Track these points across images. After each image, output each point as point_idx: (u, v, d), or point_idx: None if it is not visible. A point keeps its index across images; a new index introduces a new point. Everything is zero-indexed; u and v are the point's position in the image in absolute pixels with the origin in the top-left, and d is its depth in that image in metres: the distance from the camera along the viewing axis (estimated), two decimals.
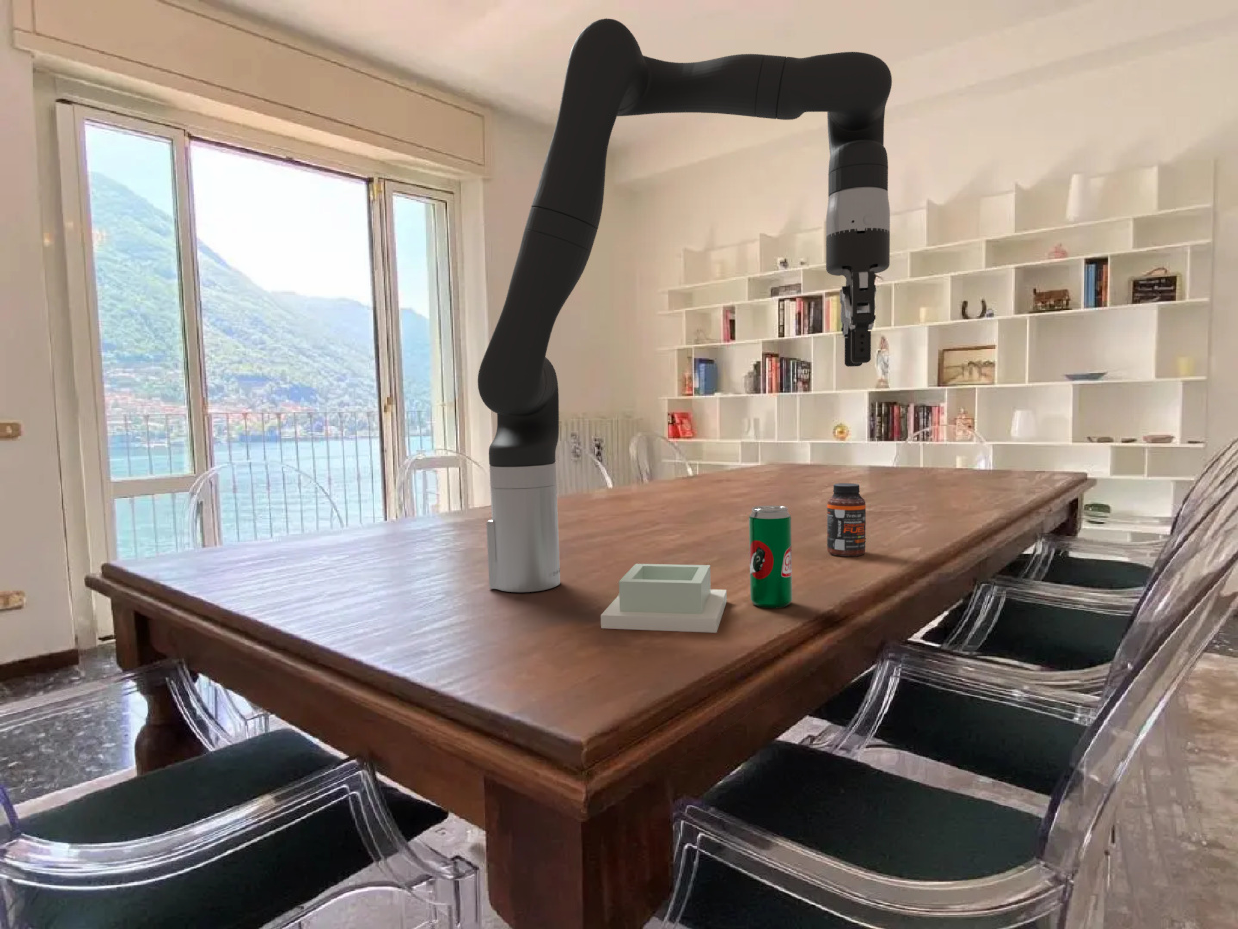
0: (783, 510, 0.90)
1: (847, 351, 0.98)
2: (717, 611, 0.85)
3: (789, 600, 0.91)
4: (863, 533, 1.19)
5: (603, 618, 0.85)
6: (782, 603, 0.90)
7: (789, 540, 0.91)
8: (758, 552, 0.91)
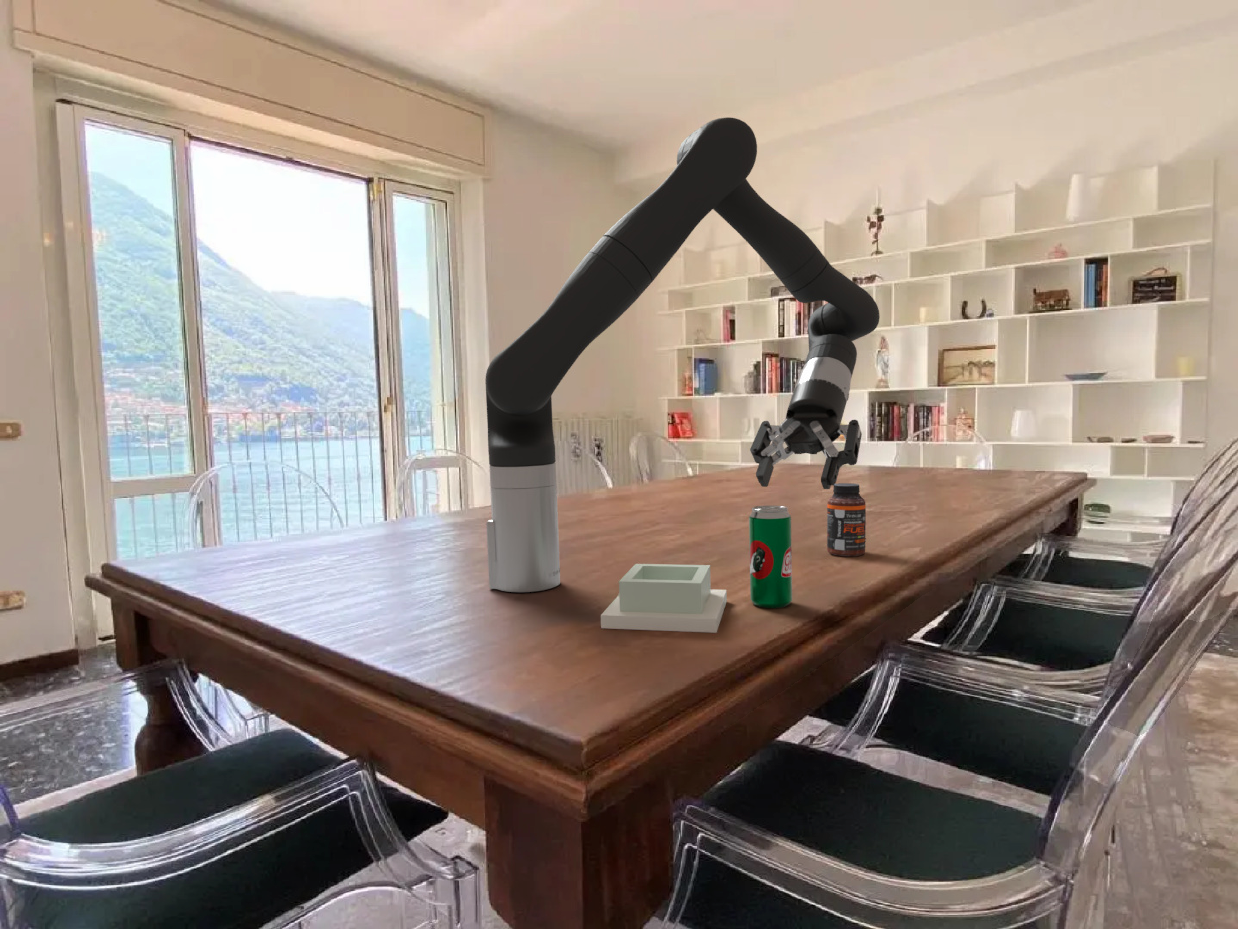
0: (783, 510, 0.90)
1: (766, 468, 1.02)
2: (717, 611, 0.85)
3: (789, 600, 0.91)
4: (863, 533, 1.19)
5: (603, 618, 0.85)
6: (782, 603, 0.90)
7: (789, 540, 0.91)
8: (758, 552, 0.91)
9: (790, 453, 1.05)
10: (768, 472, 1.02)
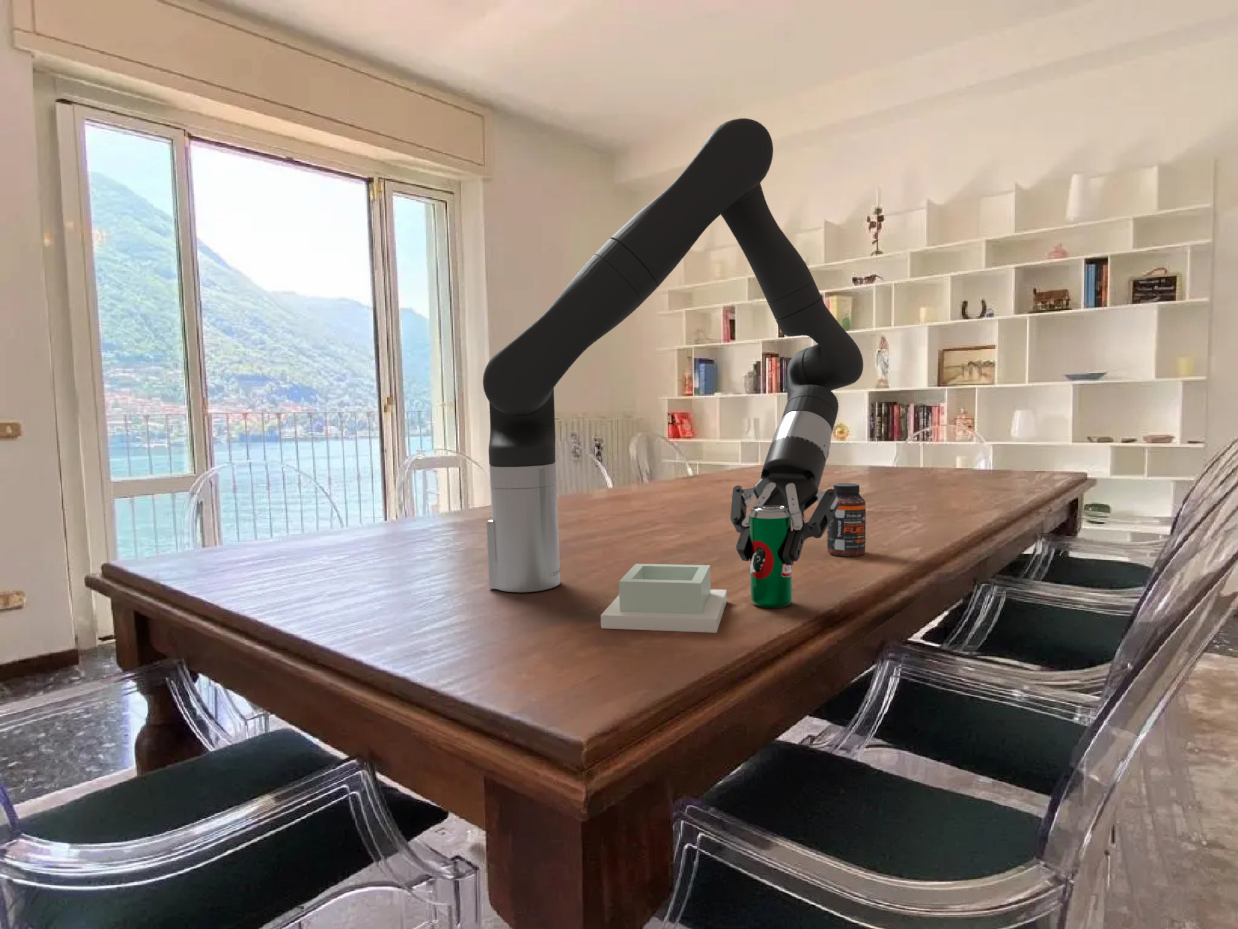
0: (783, 510, 0.90)
1: (748, 540, 0.93)
2: (717, 611, 0.85)
3: (789, 600, 0.91)
4: (863, 533, 1.19)
5: (603, 618, 0.85)
6: (782, 603, 0.90)
7: None
8: (758, 551, 0.91)
9: None
10: (749, 545, 0.93)
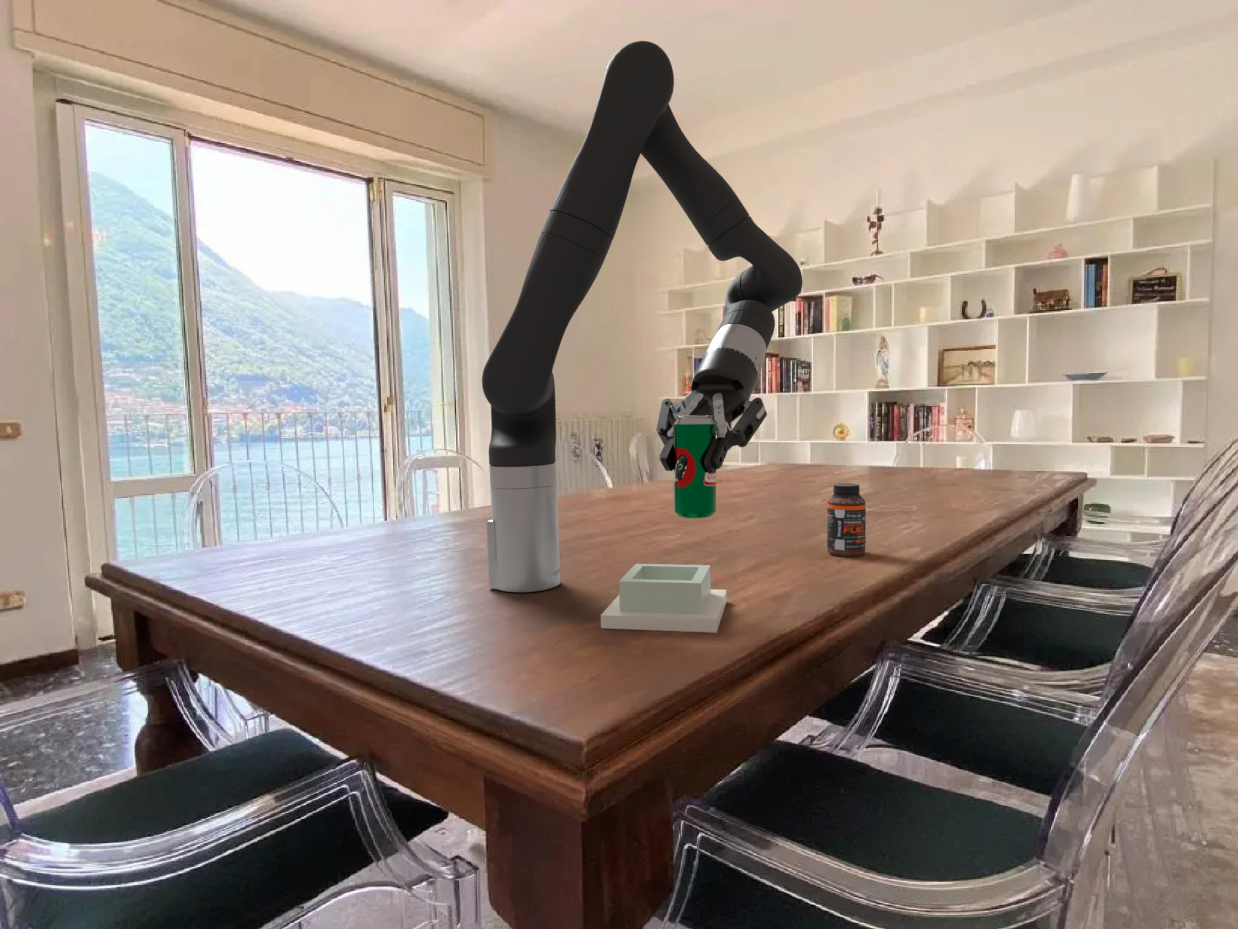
0: (707, 416, 0.87)
1: (671, 449, 0.90)
2: (717, 611, 0.85)
3: (712, 510, 0.88)
4: (863, 533, 1.19)
5: (603, 618, 0.85)
6: (704, 512, 0.88)
7: None
8: (680, 459, 0.88)
9: None
10: None
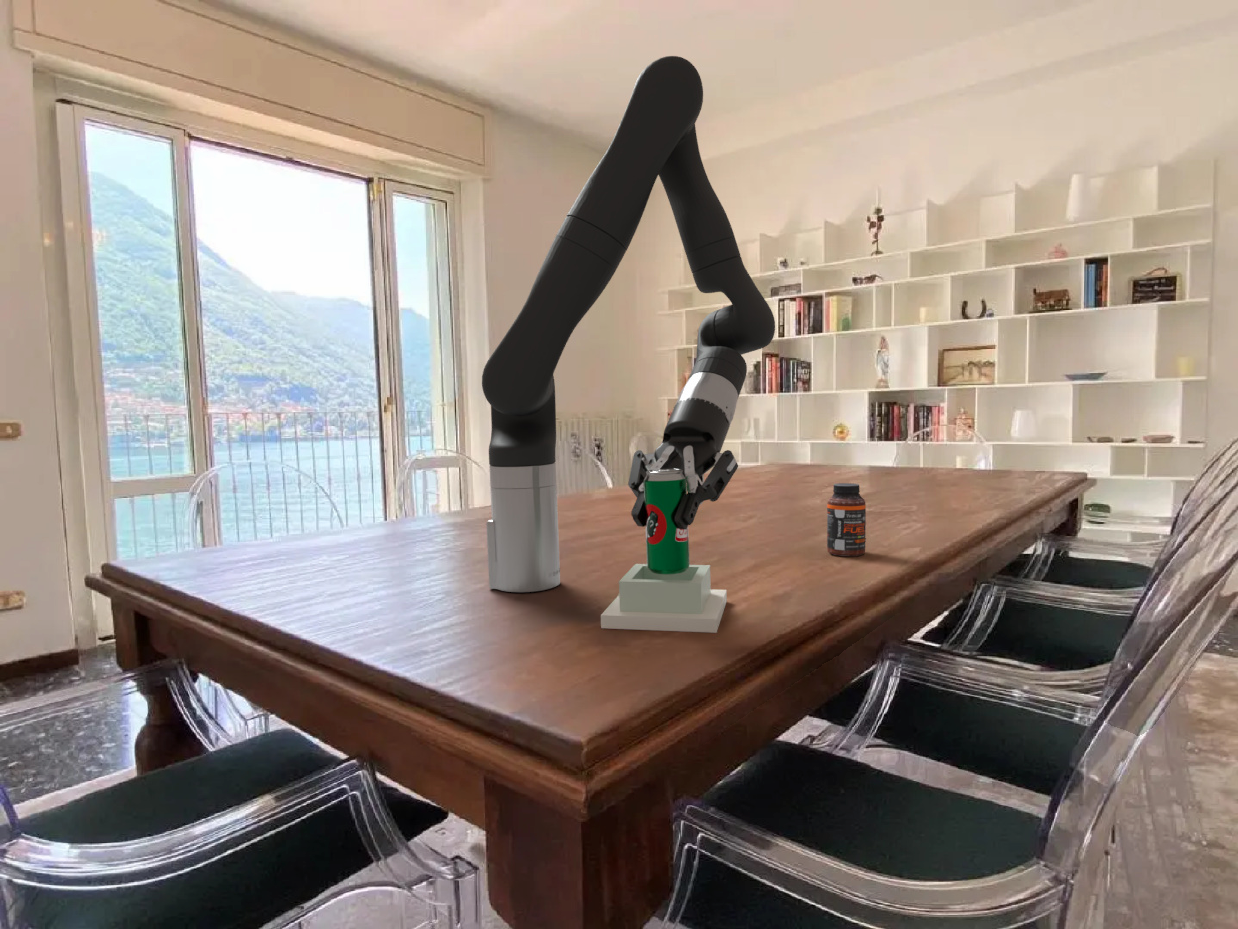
0: (676, 472, 0.87)
1: (643, 505, 0.89)
2: (717, 611, 0.85)
3: (685, 566, 0.88)
4: (863, 533, 1.19)
5: (603, 618, 0.85)
6: (677, 569, 0.87)
7: None
8: (651, 516, 0.87)
9: None
10: None
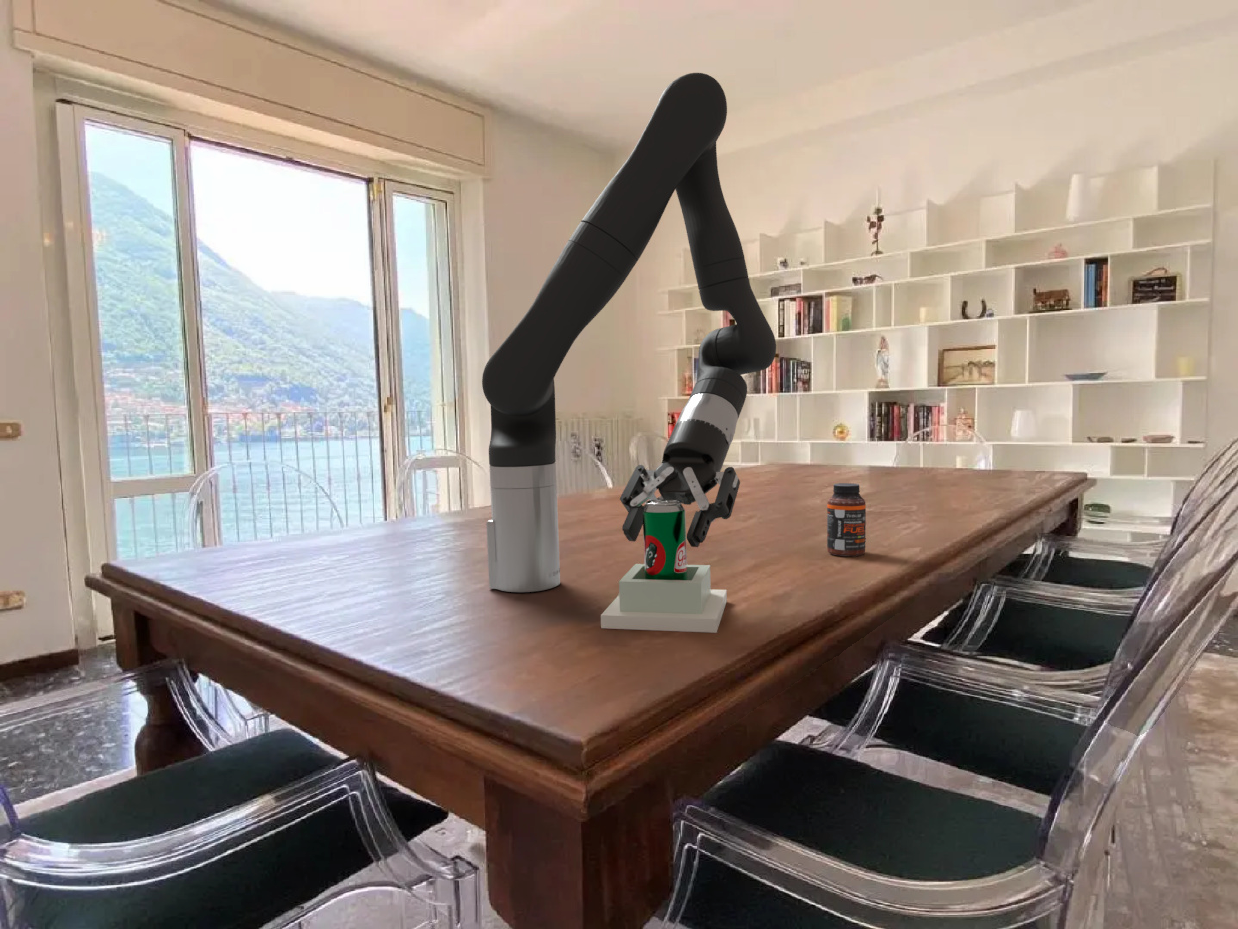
0: (675, 503, 0.87)
1: (634, 520, 0.91)
2: (717, 611, 0.85)
3: None
4: (863, 533, 1.19)
5: (603, 618, 0.85)
6: None
7: (682, 535, 0.88)
8: (650, 547, 0.88)
9: None
10: (636, 525, 0.91)
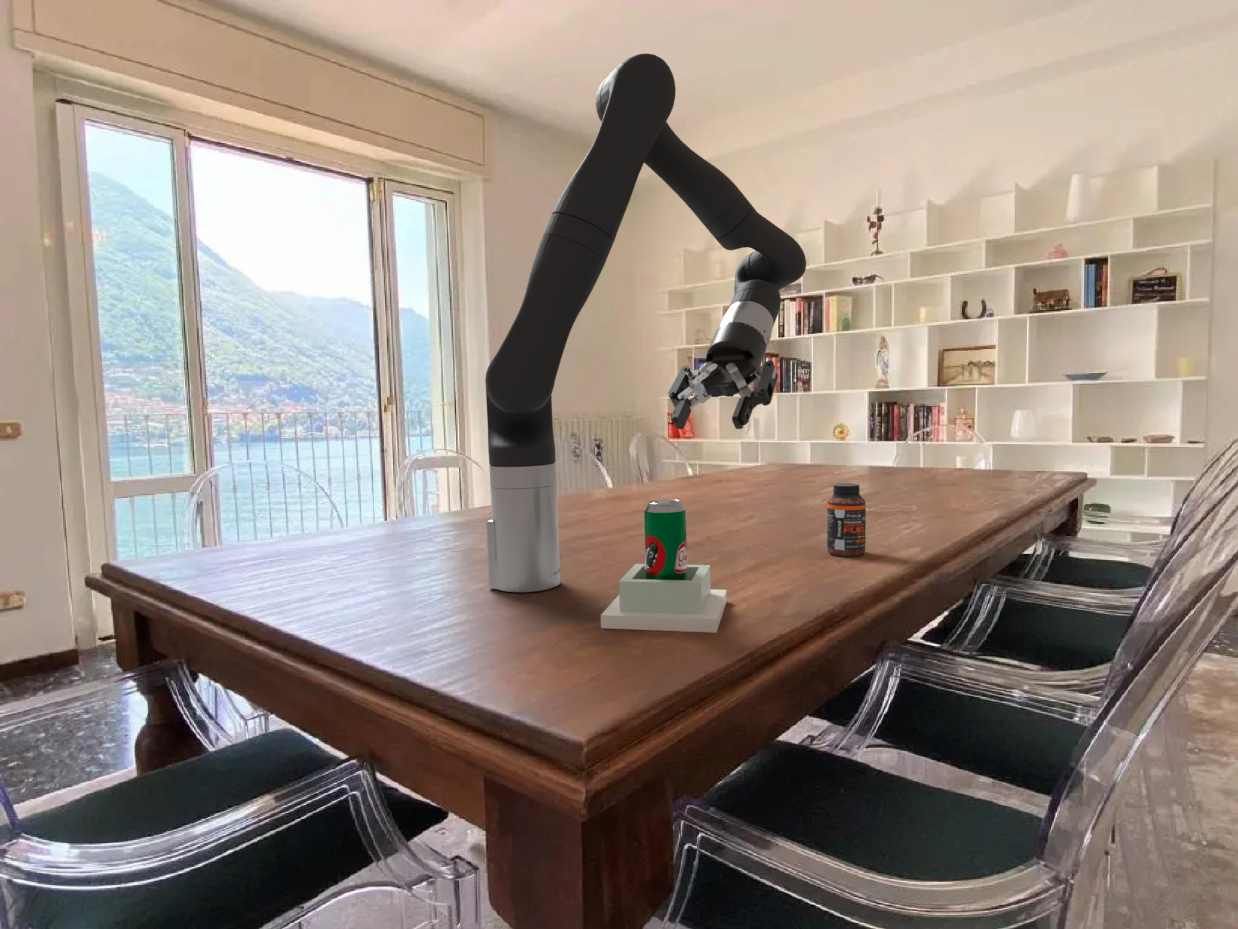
0: (676, 504, 0.87)
1: (682, 410, 1.00)
2: (717, 611, 0.85)
3: None
4: (863, 533, 1.19)
5: (603, 618, 0.85)
6: None
7: (683, 535, 0.88)
8: (651, 547, 0.88)
9: (708, 397, 1.03)
10: (684, 415, 1.01)
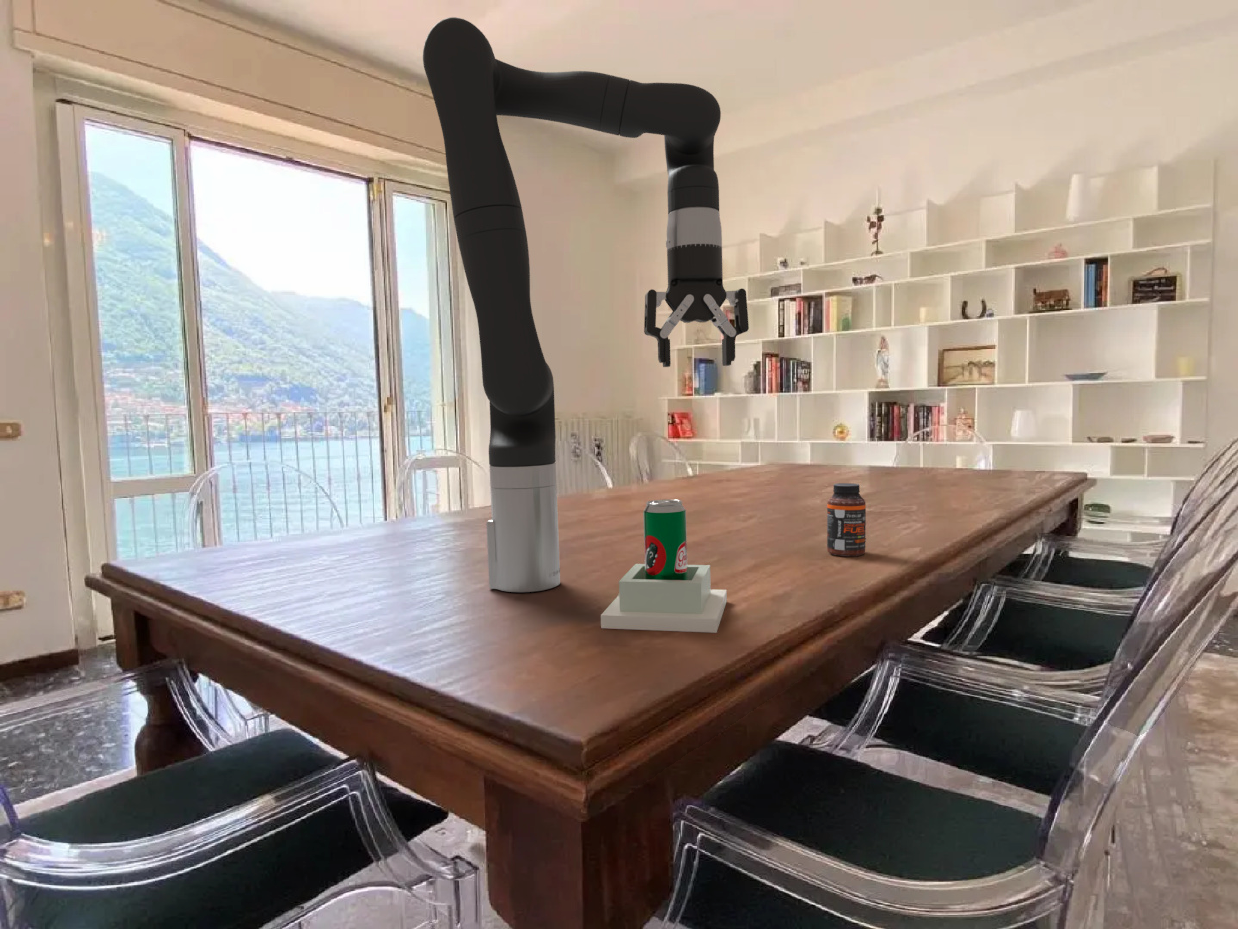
0: (676, 504, 0.87)
1: None
2: (717, 611, 0.85)
3: None
4: (863, 533, 1.19)
5: (603, 618, 0.85)
6: None
7: (683, 535, 0.88)
8: (651, 547, 0.88)
9: None
10: None
